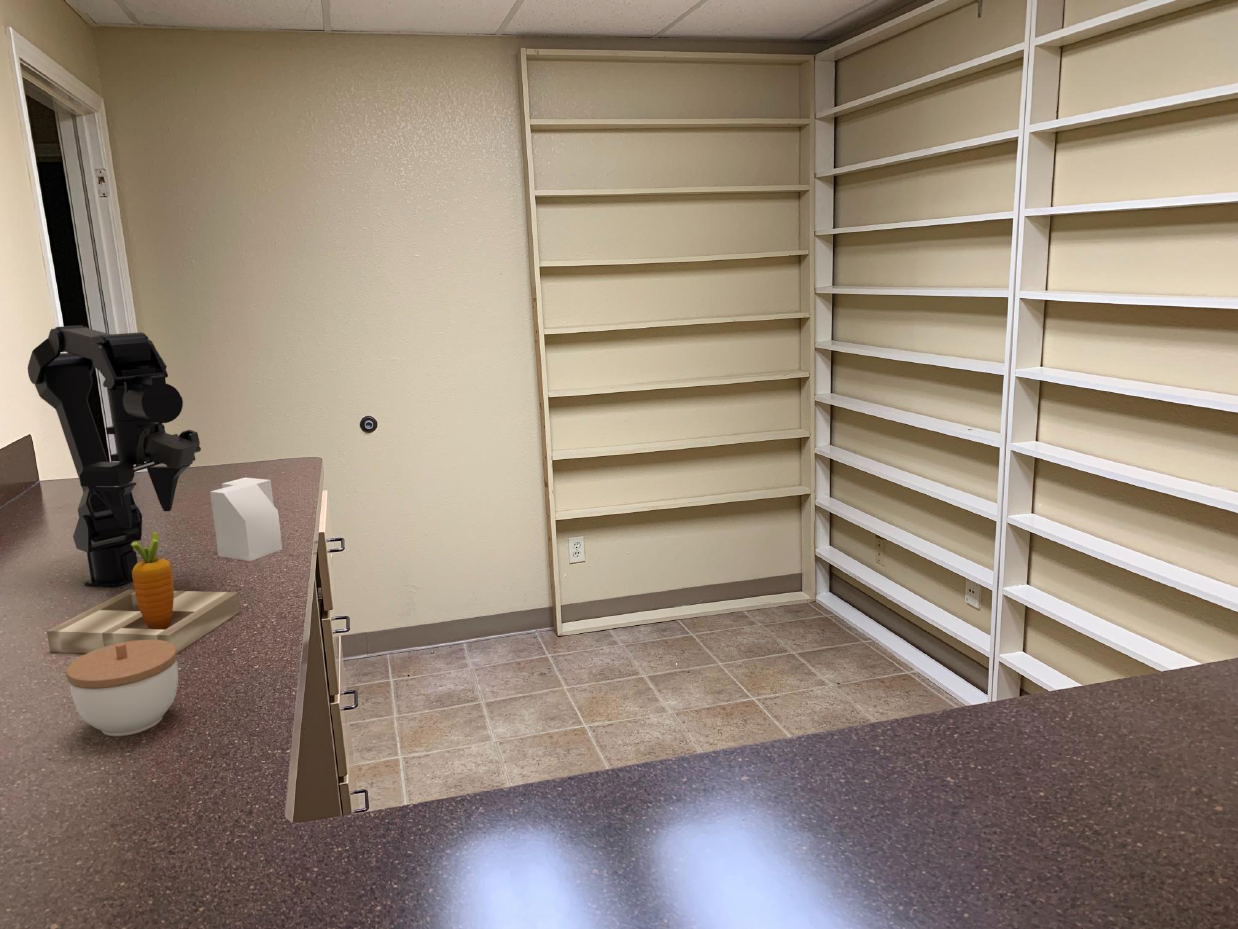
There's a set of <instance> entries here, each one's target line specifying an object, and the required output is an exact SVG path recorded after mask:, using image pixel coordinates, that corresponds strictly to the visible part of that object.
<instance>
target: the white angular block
mask: <svg viewBox="0 0 1238 929" xmlns="http://www.w3.org/2000/svg"><path fill="white" fill-rule="evenodd" d="M209 492H210V493H209V494H210V501H211V509H212V510H211V511H212V517H213V523H214V533H215V541H216V546H217V547H216V548H217V554H218V557H222V558H227V559H228V558H229V559H234V560H240V561H247V562H253V561H254V560H257V559H260V558H262V557H266V556H268V555H271V554H275V553H276V552H279V551H281V550H283V543H282V535H281V534H282V533H281V526H280V517H279V510H278V509H277V508H276V507H275V505H274V498H273V487H272V479H266V478H265V479H263V478H255V477H242V478H238V479H234V480H231V481H227V482H222V483H221V488H218V489H215V490H212V491H209Z"/></svg>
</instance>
